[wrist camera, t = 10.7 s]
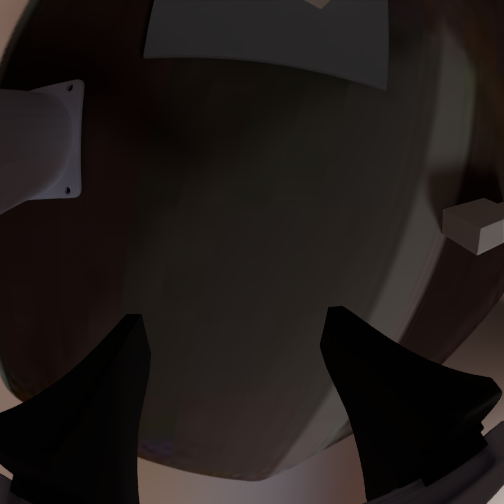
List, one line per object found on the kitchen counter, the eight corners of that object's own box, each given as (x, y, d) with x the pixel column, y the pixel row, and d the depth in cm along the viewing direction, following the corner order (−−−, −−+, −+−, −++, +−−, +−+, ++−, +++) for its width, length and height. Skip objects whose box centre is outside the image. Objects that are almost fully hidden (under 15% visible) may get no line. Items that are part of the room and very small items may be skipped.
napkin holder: (413, 236, 21) (455, 266, 16) (462, 131, 18) (509, 139, 13) (475, 284, 26) (504, 308, 21) (513, 206, 22) (545, 222, 17)
